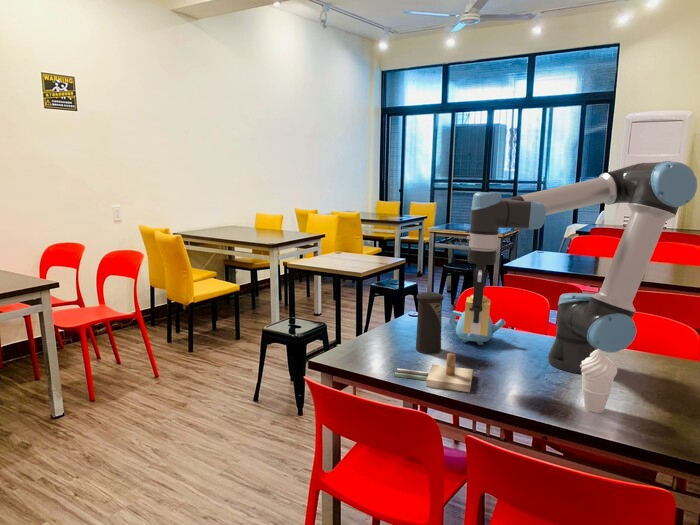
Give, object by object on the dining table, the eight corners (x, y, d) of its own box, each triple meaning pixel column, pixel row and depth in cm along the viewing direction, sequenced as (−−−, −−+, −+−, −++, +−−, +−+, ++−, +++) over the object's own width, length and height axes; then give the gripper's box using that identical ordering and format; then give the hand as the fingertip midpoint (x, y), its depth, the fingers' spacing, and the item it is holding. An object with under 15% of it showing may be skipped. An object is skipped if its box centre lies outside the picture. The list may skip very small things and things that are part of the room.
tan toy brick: (487, 329, 139) (490, 295, 137) (487, 335, 133) (490, 300, 131) (464, 326, 140) (467, 292, 139) (463, 332, 134) (466, 297, 133)
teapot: (442, 343, 173) (444, 311, 171) (454, 330, 188) (455, 300, 186) (500, 352, 165) (502, 318, 163) (507, 338, 180) (509, 307, 178)
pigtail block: (472, 375, 144) (474, 350, 143) (469, 392, 133) (471, 364, 132) (399, 366, 151) (400, 341, 149) (391, 381, 139) (392, 355, 138)
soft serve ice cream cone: (601, 401, 128) (607, 344, 125) (619, 417, 120) (626, 355, 117) (570, 402, 128) (575, 344, 125) (586, 417, 119) (592, 355, 117)
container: (441, 355, 161) (443, 296, 157) (413, 353, 163) (415, 295, 159) (441, 346, 169) (444, 291, 166) (415, 344, 171) (417, 289, 168)
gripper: (470, 244, 143) (464, 319, 147) (466, 252, 124) (459, 338, 128) (496, 246, 141) (490, 322, 145) (496, 254, 122) (488, 342, 126)
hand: (475, 329), depth 136 cm, fingers closed on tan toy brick, 6 cm apart
